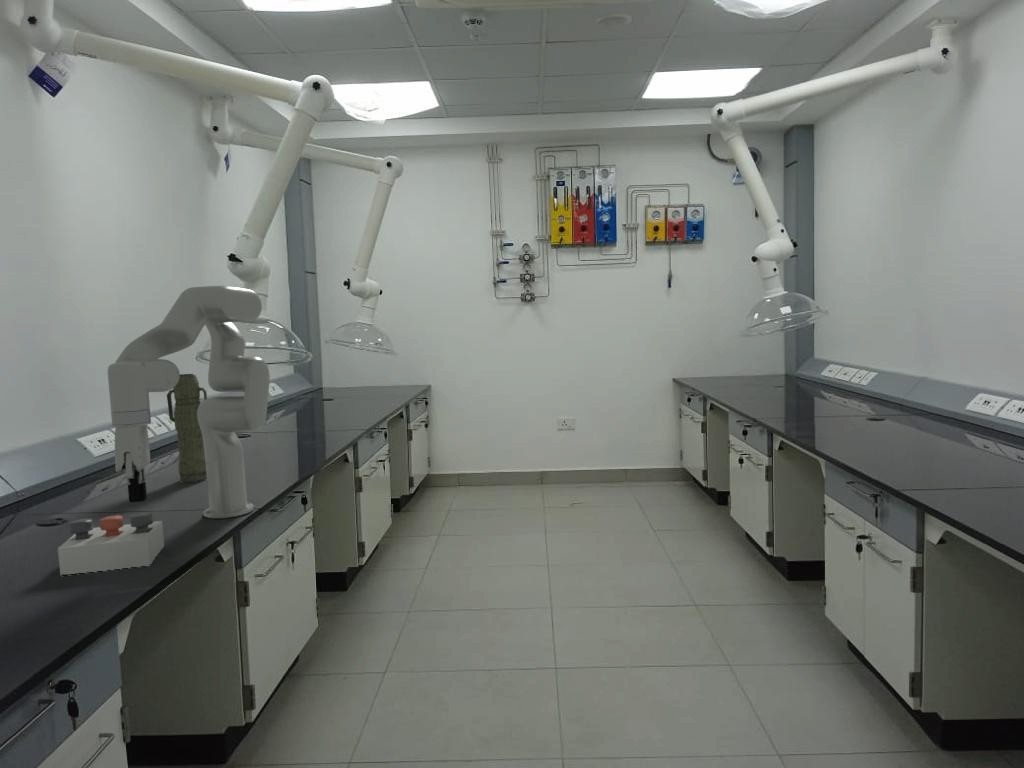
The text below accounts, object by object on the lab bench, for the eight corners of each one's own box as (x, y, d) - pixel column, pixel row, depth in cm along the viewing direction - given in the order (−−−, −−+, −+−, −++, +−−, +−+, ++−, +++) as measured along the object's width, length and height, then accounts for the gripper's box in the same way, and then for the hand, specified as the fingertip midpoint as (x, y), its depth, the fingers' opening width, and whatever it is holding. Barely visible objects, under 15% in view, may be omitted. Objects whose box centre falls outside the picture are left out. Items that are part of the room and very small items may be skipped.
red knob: (105, 540, 158) (103, 516, 157) (127, 538, 159) (124, 514, 158) (99, 546, 154) (96, 522, 153) (121, 544, 155) (119, 520, 154)
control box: (83, 554, 161) (80, 529, 161) (164, 545, 166) (161, 520, 165) (60, 576, 148) (57, 548, 147) (149, 566, 152) (146, 538, 151)
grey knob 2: (135, 537, 159) (132, 513, 159) (156, 535, 160) (154, 511, 160) (129, 543, 155) (127, 519, 155) (151, 541, 156) (149, 516, 156)
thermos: (175, 479, 237) (166, 374, 233) (214, 474, 241) (205, 372, 237) (173, 484, 228) (163, 376, 225) (213, 480, 232) (204, 374, 229)
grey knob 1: (75, 544, 156) (73, 519, 156) (97, 541, 157) (95, 517, 157) (68, 550, 152) (65, 525, 152) (91, 547, 153) (88, 523, 153)
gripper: (122, 415, 161) (128, 495, 163) (101, 424, 147) (109, 511, 148) (158, 413, 163) (164, 492, 165) (141, 421, 149) (148, 507, 150)
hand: (138, 500), depth 156 cm, fingers closed
